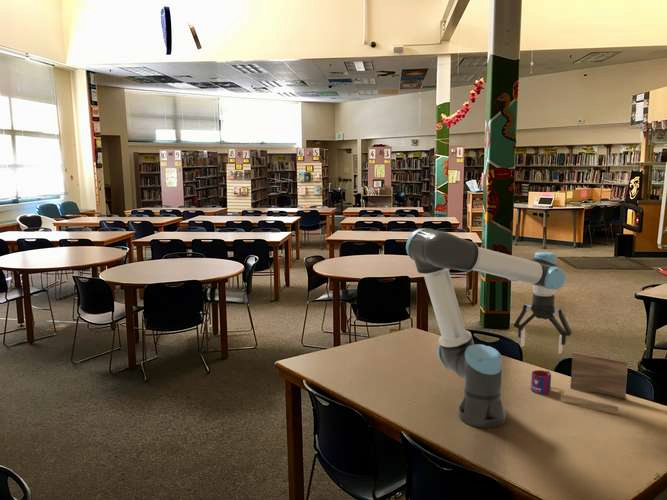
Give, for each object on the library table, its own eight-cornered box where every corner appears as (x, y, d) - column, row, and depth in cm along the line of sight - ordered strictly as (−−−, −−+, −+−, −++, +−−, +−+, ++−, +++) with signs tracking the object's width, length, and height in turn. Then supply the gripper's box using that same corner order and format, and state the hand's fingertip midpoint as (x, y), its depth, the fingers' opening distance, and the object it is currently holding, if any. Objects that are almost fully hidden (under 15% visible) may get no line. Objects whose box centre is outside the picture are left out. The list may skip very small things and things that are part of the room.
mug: (527, 390, 195) (528, 373, 194) (542, 383, 201) (542, 366, 200) (543, 396, 190) (544, 378, 189) (558, 389, 196) (559, 371, 195)
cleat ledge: (617, 414, 175) (617, 407, 174) (560, 401, 186) (561, 394, 185) (617, 413, 176) (618, 406, 175) (561, 400, 186) (561, 393, 186)
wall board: (624, 400, 186) (627, 362, 184) (570, 388, 197) (572, 352, 195) (625, 397, 188) (628, 360, 186) (572, 385, 199) (574, 350, 197)
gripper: (582, 296, 188) (579, 352, 191) (512, 288, 202) (510, 340, 206) (578, 300, 182) (574, 358, 185) (506, 291, 196) (504, 345, 200)
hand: (541, 349), depth 195 cm, fingers open, 13 cm apart
